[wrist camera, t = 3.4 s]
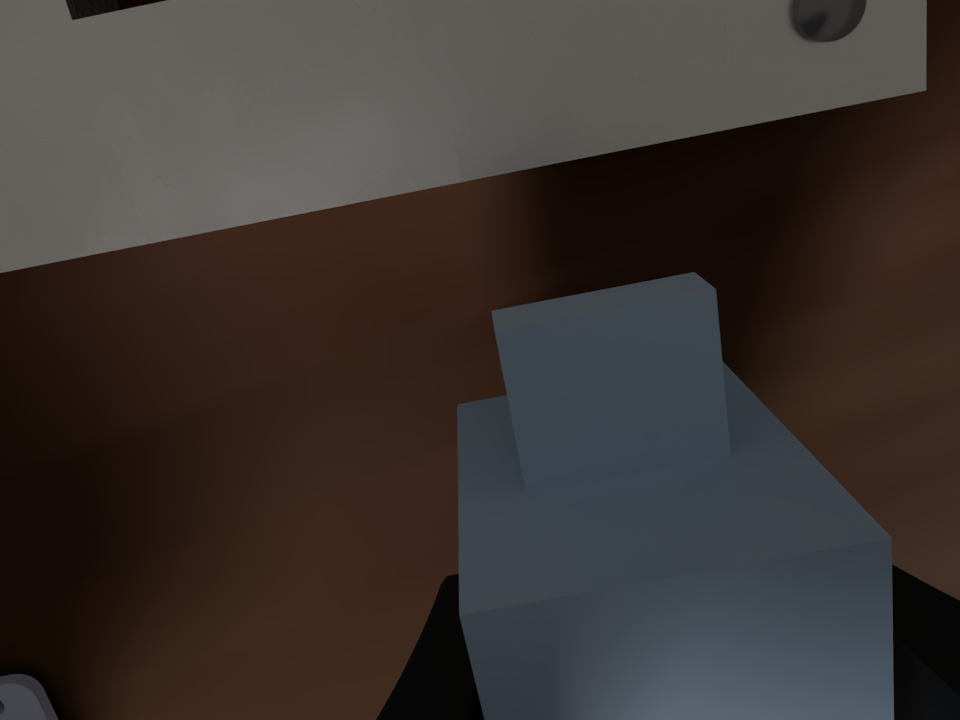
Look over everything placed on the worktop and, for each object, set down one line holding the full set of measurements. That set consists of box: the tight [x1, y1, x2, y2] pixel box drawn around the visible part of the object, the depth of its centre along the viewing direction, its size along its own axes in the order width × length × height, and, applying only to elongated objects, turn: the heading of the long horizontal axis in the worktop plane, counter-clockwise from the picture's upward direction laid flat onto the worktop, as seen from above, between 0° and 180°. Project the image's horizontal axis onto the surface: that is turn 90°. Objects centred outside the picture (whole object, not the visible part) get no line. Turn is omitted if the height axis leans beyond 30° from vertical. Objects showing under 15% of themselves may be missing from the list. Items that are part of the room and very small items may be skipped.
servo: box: [457, 272, 894, 720], centre depth 10 cm, size 4×10×5 cm, turn 11°
